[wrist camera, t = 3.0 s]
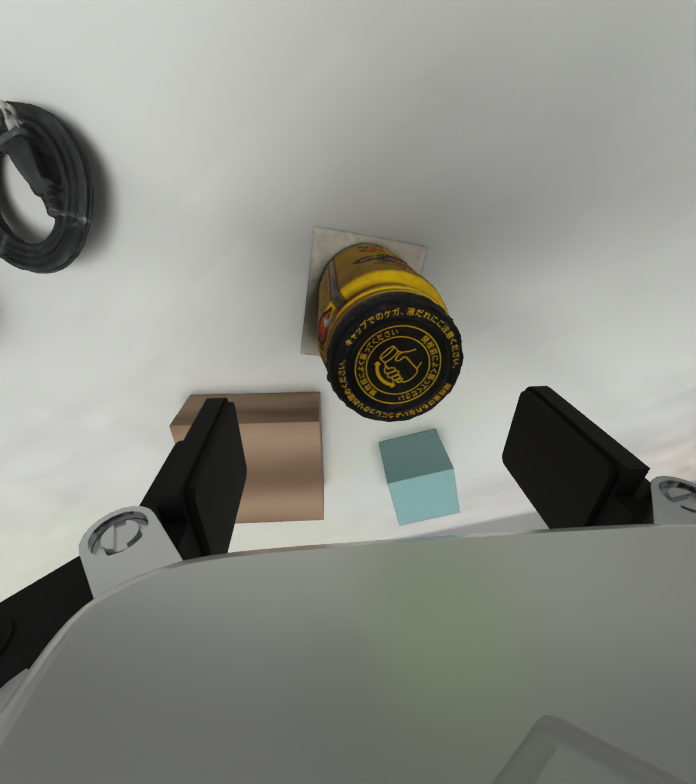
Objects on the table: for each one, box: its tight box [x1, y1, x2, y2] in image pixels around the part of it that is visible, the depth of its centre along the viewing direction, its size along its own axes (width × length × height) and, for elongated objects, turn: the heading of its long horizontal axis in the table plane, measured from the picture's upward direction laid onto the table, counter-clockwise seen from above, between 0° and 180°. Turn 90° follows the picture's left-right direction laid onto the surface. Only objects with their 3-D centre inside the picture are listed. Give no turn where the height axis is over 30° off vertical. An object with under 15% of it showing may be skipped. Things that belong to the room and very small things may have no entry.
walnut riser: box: [170, 392, 324, 523], centre depth 27 cm, size 10×10×4 cm
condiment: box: [301, 226, 464, 422], centre depth 18 cm, size 7×8×12 cm
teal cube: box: [379, 429, 460, 526], centre depth 28 cm, size 5×5×5 cm
